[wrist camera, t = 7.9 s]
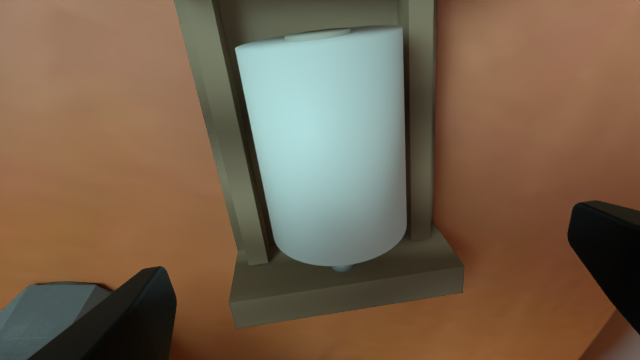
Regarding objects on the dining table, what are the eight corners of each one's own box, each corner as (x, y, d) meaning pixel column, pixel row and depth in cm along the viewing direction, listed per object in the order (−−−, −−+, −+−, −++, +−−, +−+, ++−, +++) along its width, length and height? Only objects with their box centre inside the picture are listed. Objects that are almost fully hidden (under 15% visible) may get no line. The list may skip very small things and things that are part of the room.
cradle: (426, 235, 23) (462, 292, 18) (245, 263, 22) (236, 328, 18) (429, -98, 16) (490, -140, 11) (162, -67, 15) (112, -97, 11)
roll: (387, 187, 20) (426, 255, 14) (274, 204, 20) (272, 280, 14) (379, 18, 16) (428, 25, 11) (242, 36, 16) (223, 52, 11)
